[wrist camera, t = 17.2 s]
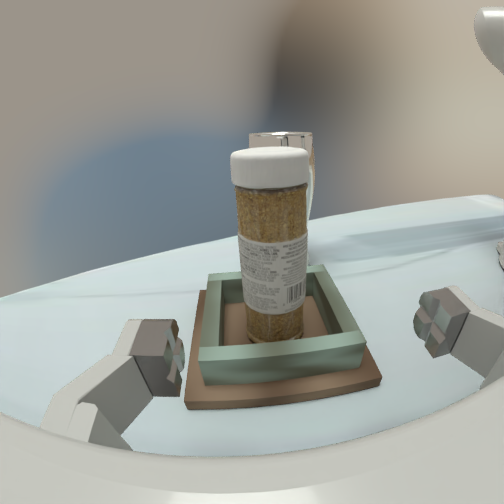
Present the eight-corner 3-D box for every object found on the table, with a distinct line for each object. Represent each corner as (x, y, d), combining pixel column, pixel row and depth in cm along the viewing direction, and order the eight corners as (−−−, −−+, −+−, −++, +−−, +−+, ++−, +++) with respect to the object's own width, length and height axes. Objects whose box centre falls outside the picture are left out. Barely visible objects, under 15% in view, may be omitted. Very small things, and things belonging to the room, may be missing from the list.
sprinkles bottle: (279, 306, 24) (275, 144, 18) (316, 333, 21) (325, 148, 15) (234, 327, 22) (215, 151, 16) (268, 361, 18) (259, 154, 13)
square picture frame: (329, 287, 28) (332, 256, 26) (378, 385, 16) (392, 351, 15) (201, 298, 28) (196, 268, 26) (187, 409, 16) (174, 377, 14)
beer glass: (278, 244, 38) (275, 131, 31) (323, 259, 34) (326, 132, 27) (242, 264, 34) (232, 135, 27) (289, 283, 29) (287, 134, 23)
